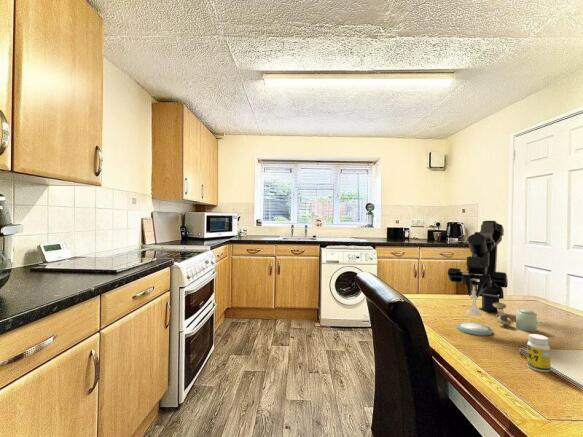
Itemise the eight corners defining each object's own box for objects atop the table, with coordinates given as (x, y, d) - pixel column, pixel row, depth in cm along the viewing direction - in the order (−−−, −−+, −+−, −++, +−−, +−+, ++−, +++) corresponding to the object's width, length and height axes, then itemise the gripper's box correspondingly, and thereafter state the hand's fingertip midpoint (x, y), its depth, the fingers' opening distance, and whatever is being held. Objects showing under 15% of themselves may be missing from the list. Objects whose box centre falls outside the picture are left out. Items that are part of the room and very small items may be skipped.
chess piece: (483, 313, 111) (482, 285, 111) (481, 316, 107) (480, 288, 107) (467, 311, 114) (467, 284, 114) (465, 314, 110) (465, 286, 110)
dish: (450, 325, 115) (450, 322, 115) (477, 324, 116) (477, 321, 116) (471, 336, 104) (471, 332, 104) (500, 335, 105) (500, 331, 106)
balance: (492, 314, 129) (492, 301, 129) (505, 316, 127) (505, 303, 127) (497, 326, 114) (497, 311, 114) (512, 328, 112) (512, 313, 112)
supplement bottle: (522, 364, 83) (522, 333, 83) (538, 363, 84) (538, 332, 84) (538, 372, 78) (538, 340, 79) (555, 372, 79) (554, 339, 79)
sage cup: (512, 326, 114) (511, 308, 114) (526, 325, 115) (526, 308, 115) (526, 332, 108) (525, 313, 109) (541, 331, 109) (541, 312, 109)
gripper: (448, 247, 120) (440, 279, 112) (506, 249, 108) (501, 286, 99) (454, 265, 126) (446, 296, 117) (509, 269, 113) (505, 305, 105)
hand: (473, 296), depth 110 cm, fingers closed on chess piece
